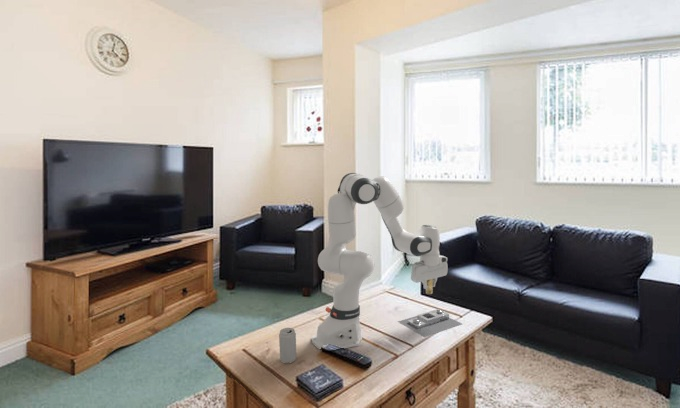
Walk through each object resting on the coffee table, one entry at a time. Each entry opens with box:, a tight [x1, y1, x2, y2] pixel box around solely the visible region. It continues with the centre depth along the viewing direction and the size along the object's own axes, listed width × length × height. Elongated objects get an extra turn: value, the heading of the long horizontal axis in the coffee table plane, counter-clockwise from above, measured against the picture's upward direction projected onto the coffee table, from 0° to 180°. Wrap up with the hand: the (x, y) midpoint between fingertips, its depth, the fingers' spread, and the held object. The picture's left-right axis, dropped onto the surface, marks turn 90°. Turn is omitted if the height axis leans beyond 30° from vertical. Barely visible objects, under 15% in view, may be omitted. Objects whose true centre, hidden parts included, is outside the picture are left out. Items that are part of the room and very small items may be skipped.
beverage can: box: [278, 327, 297, 364], centre depth 140 cm, size 6×6×12 cm
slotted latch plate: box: [408, 308, 450, 329], centre depth 172 cm, size 20×7×3 cm, turn 120°
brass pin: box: [425, 279, 434, 295], centre depth 170 cm, size 3×3×8 cm
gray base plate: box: [397, 315, 463, 338], centre depth 170 cm, size 24×18×1 cm
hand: (429, 287), depth 170 cm, fingers closed on brass pin, 3 cm apart
